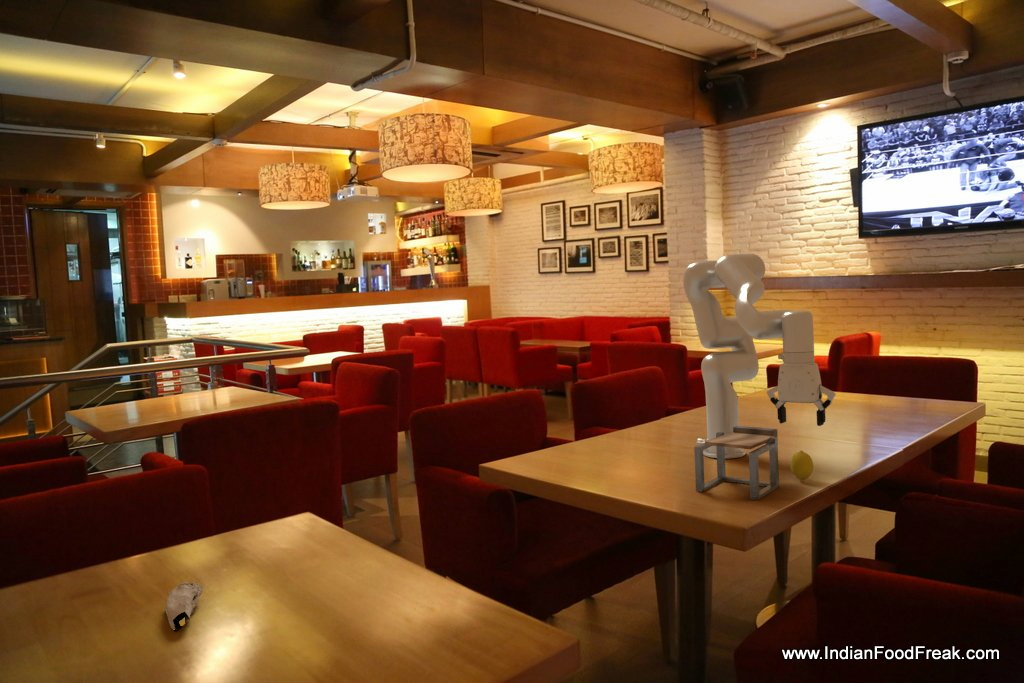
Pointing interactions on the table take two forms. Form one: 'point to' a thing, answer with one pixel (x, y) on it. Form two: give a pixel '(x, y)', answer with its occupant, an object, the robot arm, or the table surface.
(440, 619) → the table surface
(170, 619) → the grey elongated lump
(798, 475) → the lemon
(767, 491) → the frame
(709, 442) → the trapdoor
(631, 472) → the table surface
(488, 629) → the table surface
